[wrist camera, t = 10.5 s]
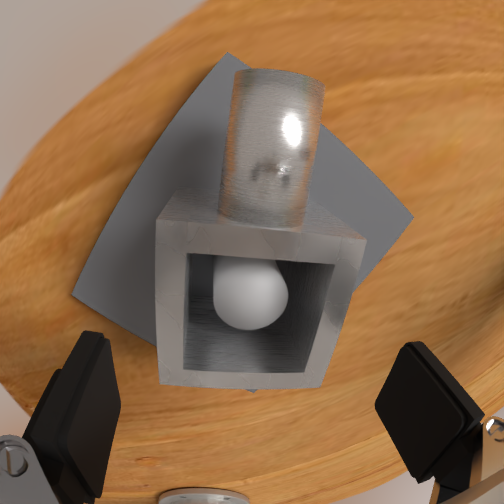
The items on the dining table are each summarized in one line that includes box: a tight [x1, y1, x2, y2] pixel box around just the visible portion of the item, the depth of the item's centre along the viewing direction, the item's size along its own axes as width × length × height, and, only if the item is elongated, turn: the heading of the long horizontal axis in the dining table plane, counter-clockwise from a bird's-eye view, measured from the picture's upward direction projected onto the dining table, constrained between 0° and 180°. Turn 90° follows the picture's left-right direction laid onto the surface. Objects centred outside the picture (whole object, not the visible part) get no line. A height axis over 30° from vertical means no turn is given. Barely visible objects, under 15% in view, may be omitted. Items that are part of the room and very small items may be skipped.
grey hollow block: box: [155, 69, 367, 389], centre depth 13 cm, size 12×7×6 cm, turn 172°
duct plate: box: [71, 52, 414, 393], centre depth 15 cm, size 16×14×6 cm
